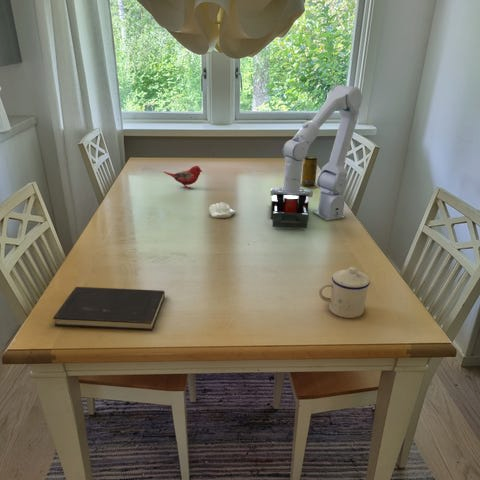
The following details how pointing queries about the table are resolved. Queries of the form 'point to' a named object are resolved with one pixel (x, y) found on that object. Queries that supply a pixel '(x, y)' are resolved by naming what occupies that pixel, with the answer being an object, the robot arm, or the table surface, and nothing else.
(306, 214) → the drawer
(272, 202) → the cabinet
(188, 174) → the decorative bird figurine
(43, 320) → the table surface
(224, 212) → the white lumpy piece
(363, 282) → the teacup with lid
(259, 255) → the table surface
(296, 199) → the can
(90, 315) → the hardcover book
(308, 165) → the condiment
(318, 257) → the table surface
